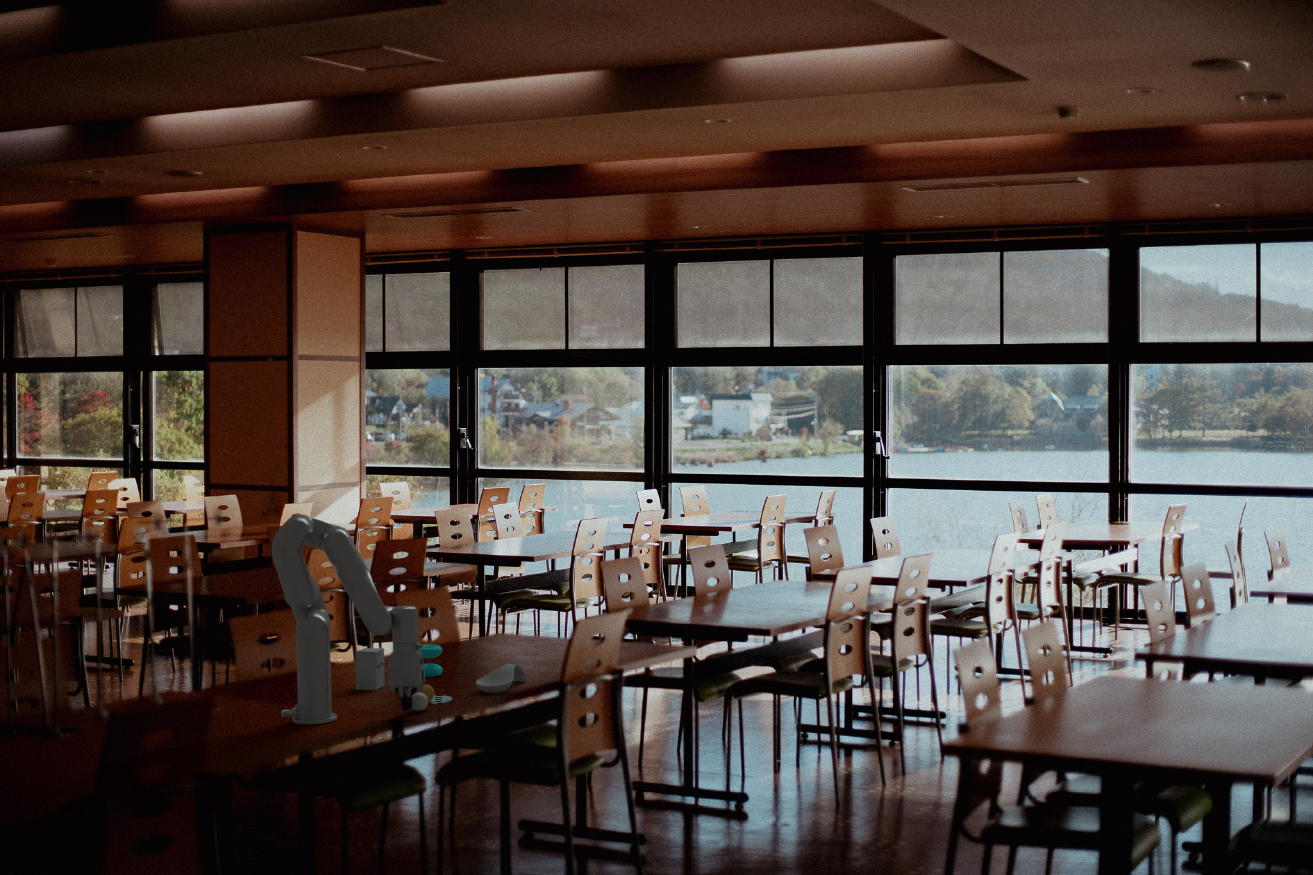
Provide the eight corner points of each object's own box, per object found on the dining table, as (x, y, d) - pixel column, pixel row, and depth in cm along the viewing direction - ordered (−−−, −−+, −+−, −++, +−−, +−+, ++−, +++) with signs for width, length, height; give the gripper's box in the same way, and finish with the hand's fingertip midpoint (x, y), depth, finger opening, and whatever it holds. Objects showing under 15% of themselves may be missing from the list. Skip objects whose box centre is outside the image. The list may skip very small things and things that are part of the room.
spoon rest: (502, 697, 422) (501, 674, 422) (469, 694, 426) (468, 672, 426) (535, 683, 444) (535, 661, 444) (504, 681, 448) (503, 659, 448)
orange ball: (425, 677, 415) (428, 689, 419) (411, 688, 412) (415, 700, 416) (436, 686, 412) (439, 698, 415) (422, 697, 409) (426, 709, 413)
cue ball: (426, 688, 404) (423, 704, 406) (409, 688, 401) (405, 704, 403) (432, 698, 400) (428, 714, 401) (414, 698, 397) (410, 714, 399)
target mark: (416, 706, 407) (416, 706, 407) (400, 699, 419) (400, 698, 419) (459, 701, 415) (459, 700, 415) (442, 693, 427) (442, 693, 427)
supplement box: (376, 690, 434) (375, 651, 434) (355, 690, 436) (354, 651, 436) (385, 686, 442) (384, 647, 442) (364, 685, 443) (363, 647, 443)
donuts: (421, 643, 466) (447, 644, 463) (422, 672, 466) (447, 673, 463) (407, 648, 457) (433, 649, 453) (407, 677, 457) (434, 678, 453)
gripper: (433, 645, 399) (435, 707, 399) (385, 645, 401) (387, 706, 401) (425, 650, 391) (427, 712, 391) (376, 649, 394) (378, 712, 394)
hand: (406, 709), depth 396 cm, fingers closed
